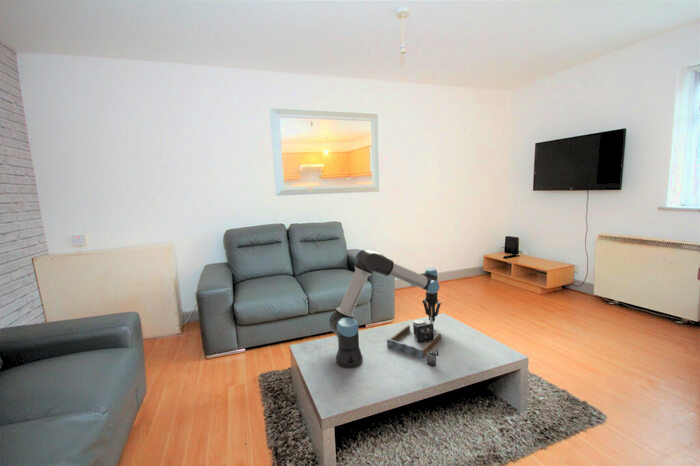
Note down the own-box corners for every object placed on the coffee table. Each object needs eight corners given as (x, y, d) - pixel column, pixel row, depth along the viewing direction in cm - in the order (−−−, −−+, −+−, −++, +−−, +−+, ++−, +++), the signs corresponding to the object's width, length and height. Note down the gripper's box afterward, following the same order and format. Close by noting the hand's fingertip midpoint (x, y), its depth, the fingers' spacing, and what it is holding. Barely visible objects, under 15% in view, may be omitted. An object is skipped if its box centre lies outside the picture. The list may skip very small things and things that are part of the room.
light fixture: (424, 333, 208) (423, 317, 207) (434, 341, 196) (434, 324, 195) (409, 335, 206) (408, 319, 205) (418, 344, 193) (417, 327, 192)
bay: (387, 347, 192) (386, 339, 191) (408, 330, 212) (408, 323, 211) (422, 358, 177) (422, 350, 176) (441, 340, 197) (441, 332, 196)
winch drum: (425, 364, 171) (424, 348, 170) (429, 360, 175) (429, 344, 174) (436, 368, 167) (436, 352, 166) (440, 364, 171) (440, 348, 170)
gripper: (420, 291, 211) (420, 324, 214) (438, 295, 202) (438, 329, 206) (425, 288, 216) (425, 320, 220) (443, 291, 208) (443, 325, 212)
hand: (431, 325), depth 213 cm, fingers closed
